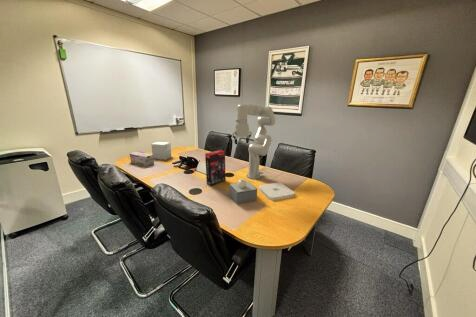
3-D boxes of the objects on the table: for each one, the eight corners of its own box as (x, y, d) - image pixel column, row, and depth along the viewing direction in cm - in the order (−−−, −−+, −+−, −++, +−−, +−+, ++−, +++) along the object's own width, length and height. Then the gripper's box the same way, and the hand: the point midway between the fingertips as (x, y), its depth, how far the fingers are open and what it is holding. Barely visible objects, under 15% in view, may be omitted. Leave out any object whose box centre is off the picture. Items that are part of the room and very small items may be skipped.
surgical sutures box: (154, 164, 210) (153, 154, 207) (145, 167, 201) (143, 157, 198) (139, 160, 222) (138, 151, 219) (130, 162, 213) (129, 153, 210)
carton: (247, 191, 153) (248, 182, 150) (256, 199, 140) (257, 189, 138) (229, 195, 146) (229, 185, 144) (236, 204, 134) (236, 193, 132)
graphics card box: (210, 186, 160) (210, 155, 152) (205, 184, 164) (204, 153, 156) (225, 180, 172) (225, 151, 164) (220, 178, 176) (220, 149, 168)
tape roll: (243, 184, 144) (244, 178, 143) (247, 187, 139) (247, 181, 138) (236, 185, 142) (236, 179, 140) (239, 188, 136) (240, 182, 135)
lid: (248, 182, 150) (248, 181, 150) (257, 189, 138) (257, 188, 138) (229, 184, 144) (230, 183, 144) (237, 192, 132) (237, 191, 132)
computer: (257, 188, 159) (257, 185, 159) (280, 185, 167) (280, 182, 166) (270, 201, 140) (270, 198, 139) (295, 196, 147) (296, 193, 146)
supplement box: (171, 156, 237) (170, 142, 231) (165, 160, 224) (164, 144, 219) (159, 155, 240) (157, 141, 235) (152, 158, 228) (150, 143, 223)
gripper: (233, 122, 140) (233, 145, 145) (254, 121, 147) (253, 143, 152) (229, 121, 147) (229, 143, 152) (250, 120, 153) (249, 141, 159)
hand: (241, 143), depth 152 cm, fingers open, 9 cm apart
